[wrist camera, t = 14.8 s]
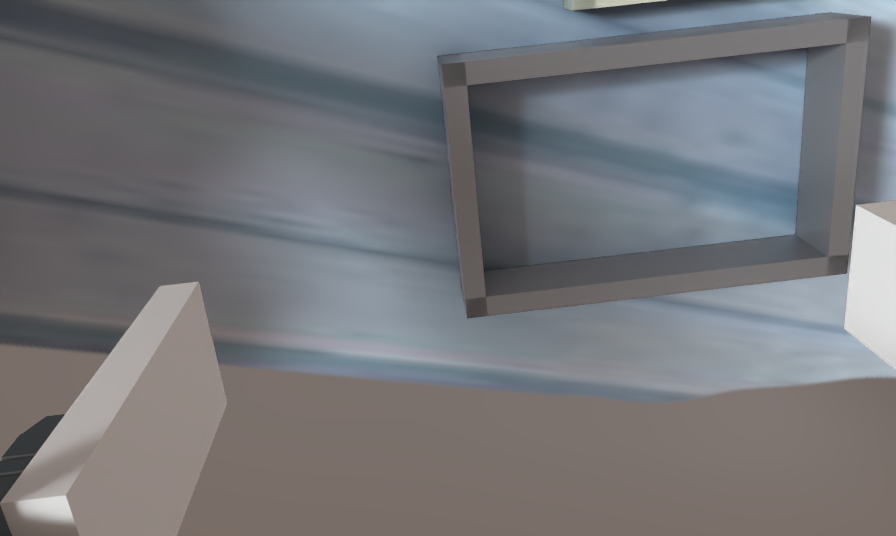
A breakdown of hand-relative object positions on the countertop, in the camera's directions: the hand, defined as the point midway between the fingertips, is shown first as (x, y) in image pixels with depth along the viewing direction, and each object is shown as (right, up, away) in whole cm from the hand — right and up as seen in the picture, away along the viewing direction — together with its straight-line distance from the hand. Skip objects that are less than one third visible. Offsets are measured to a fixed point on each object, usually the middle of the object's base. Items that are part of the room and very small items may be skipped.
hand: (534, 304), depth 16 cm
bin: (+10, +7, +31) cm, 33 cm away
